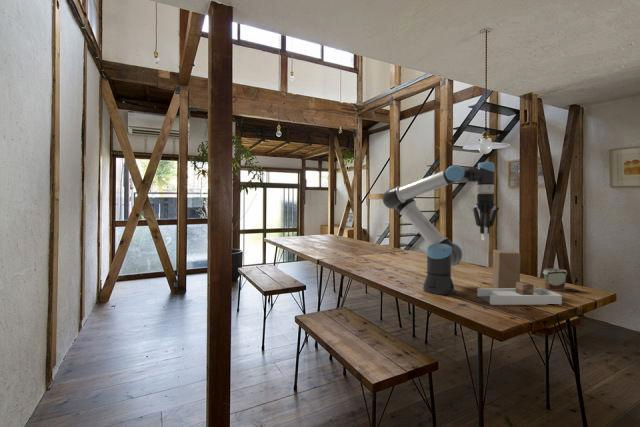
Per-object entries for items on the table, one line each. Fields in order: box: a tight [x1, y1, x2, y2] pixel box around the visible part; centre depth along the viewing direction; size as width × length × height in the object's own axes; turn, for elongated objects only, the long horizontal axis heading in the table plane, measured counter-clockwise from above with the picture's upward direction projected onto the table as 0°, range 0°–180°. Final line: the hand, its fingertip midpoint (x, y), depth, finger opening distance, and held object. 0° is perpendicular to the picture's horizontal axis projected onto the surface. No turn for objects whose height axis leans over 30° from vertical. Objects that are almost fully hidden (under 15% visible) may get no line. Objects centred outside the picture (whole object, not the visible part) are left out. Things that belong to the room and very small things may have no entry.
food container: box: [542, 268, 568, 291], centre depth 169 cm, size 12×6×10 cm, turn 100°
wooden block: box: [491, 249, 522, 288], centre depth 166 cm, size 10×10×20 cm
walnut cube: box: [516, 281, 535, 295], centre depth 148 cm, size 5×5×5 cm
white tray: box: [476, 287, 563, 306], centre depth 148 cm, size 32×12×4 cm, turn 91°
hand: (484, 240), depth 161 cm, fingers closed
